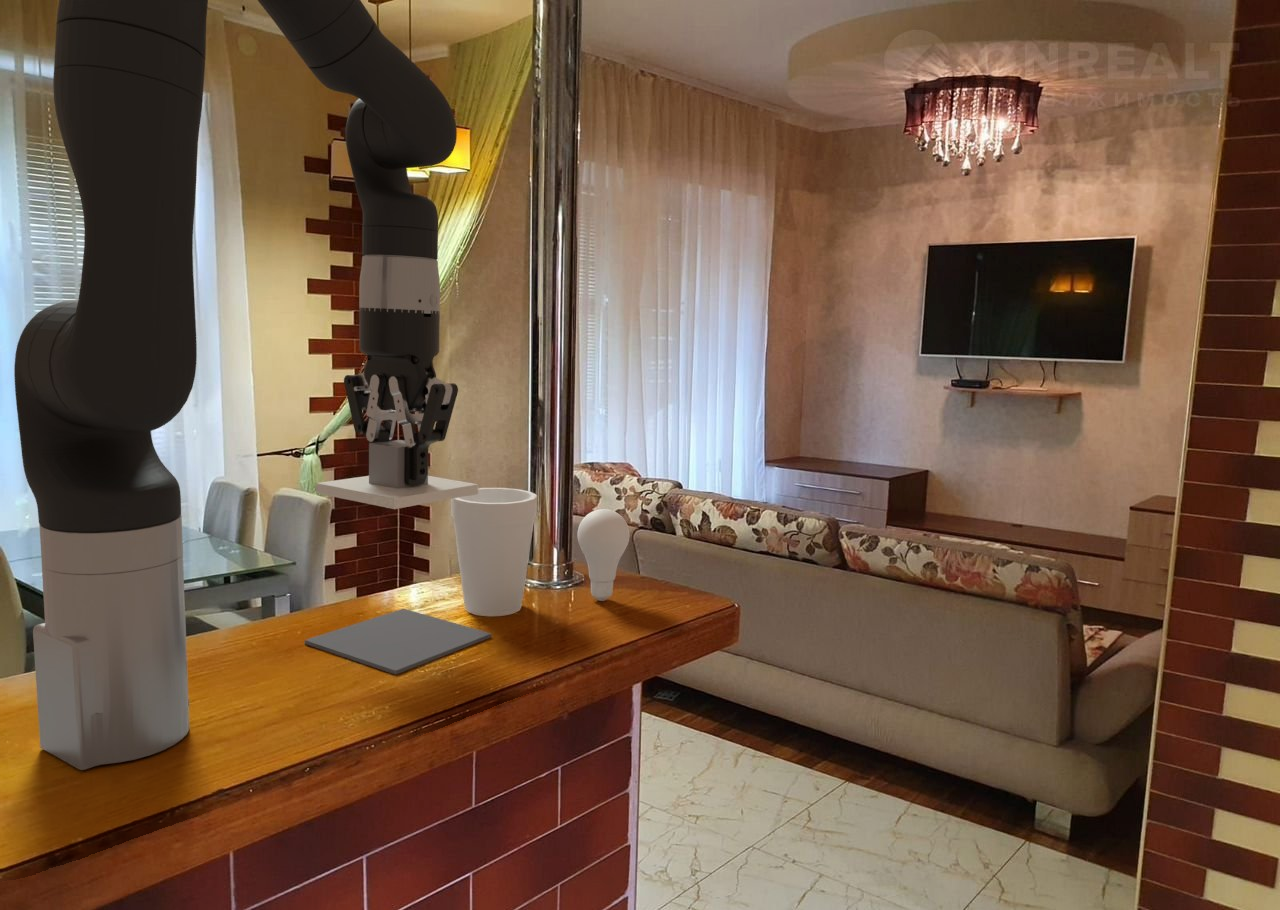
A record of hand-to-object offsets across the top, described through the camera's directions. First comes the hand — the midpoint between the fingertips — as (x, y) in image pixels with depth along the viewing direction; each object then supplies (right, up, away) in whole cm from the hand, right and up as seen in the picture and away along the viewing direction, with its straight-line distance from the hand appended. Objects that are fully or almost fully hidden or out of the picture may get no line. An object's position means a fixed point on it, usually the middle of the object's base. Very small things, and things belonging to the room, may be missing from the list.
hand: (398, 480), depth 93 cm
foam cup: (+7, -15, +14) cm, 22 cm away
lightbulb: (+19, -15, +18) cm, 30 cm away
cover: (0, -1, 0) cm, 1 cm away
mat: (0, -16, +3) cm, 17 cm away
